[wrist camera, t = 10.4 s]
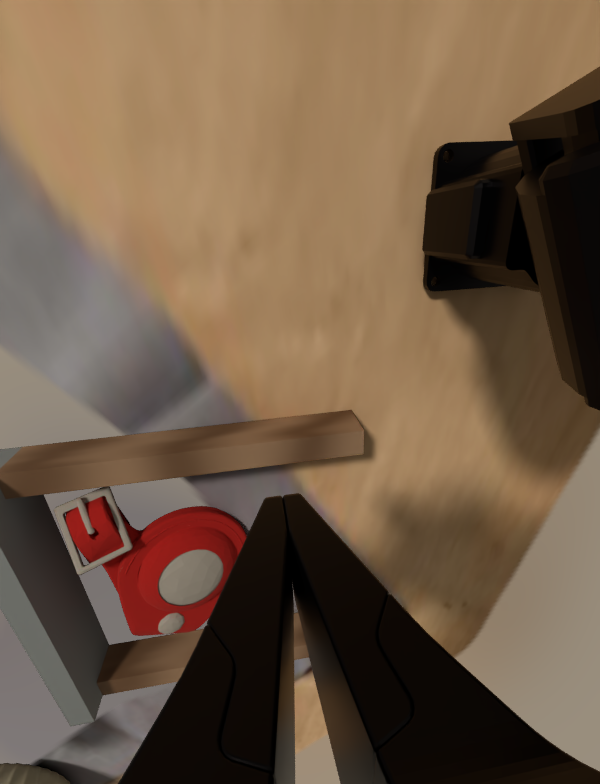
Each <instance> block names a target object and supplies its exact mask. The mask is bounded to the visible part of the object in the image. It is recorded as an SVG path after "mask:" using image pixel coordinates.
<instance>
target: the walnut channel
mask: <svg viewBox="0 0 600 784" xmlns="http://www.w3.org/2000/svg"><path fill="white" fill-rule="evenodd" d="M363 451H364V430H363V428H362V427H361V425H360V423H359V422H358V420H357V418H356V417H355V415H354V413H353V412H352V410H348V411H339V412H330V413H321V414H312V415H303V416H294V417H285V418H277V419H268V420H259V421H250V422H241V423H232V424H223V425H214V426H205V427H196V428H187V429H178V430H169V431H161V432H152V433H143V434H134V435H125V436H117V437H108V438H98V439H89V440H80V441H71V442H63V443H53V444H45V445H36V446H27V447H22V448H21V449H20V450H19V451H18V452H17V453H16V454H15V455H14V456H13V457H12V458H11V459H10V460H8V461H7V462H6V463H5V464H4V465H3V466H2V467H1V468H0V489H1V491H2V493H3V495H4V497H5V499H11V498H19V497H27V496H35V495H43V494H50V493H59V492H67V491H74V490H83V489H90V488H99V487H106V486H114V485H122V484H130V483H138V482H146V481H154V480H162V479H169V478H177V477H186V476H194V475H202V474H210V473H218V472H226V471H233V470H241V469H249V468H257V467H265V466H273V465H281V464H289V463H297V462H305V461H313V460H321V459H329V458H337V457H345V456H353V455H361V454H363ZM203 630H204V629H200V630H194V631H191V632H187V633H177V634H171V635H165V636H160V637H153V638H148V639H142V640H136V641H130V642H124V643H118V644H112V645H109V647H108V650H107V653H106V656H105V659H104V662H103V665H102V668H101V671H100V674H99V677H98V680H97V685H98V687H99V689H100V691H101V693H102V695H107V694H112V693H117V692H123V691H129V690H134V689H139V688H145V687H150V686H156V685H161V684H166V683H172V682H177V681H178V680H179V679H180V677H181V675H182V673H183V671H184V669H185V667H186V665H187V663H188V661H189V659H190V657H191V655H192V653H193V651H194V649H195V647H196V645H197V643H198V640H199V638H200V636H201V634H202V632H203ZM307 657H309V654H308V650H307V646H306V642H305V638H304V634H303V630H302V625H301V621H300V617H299V613H294V660H296V659H302V658H307Z"/></svg>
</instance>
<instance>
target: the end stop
mask: <svg viewBox="0 0 600 784" xmlns="http://www.w3.org/2000/svg"><path fill="white" fill-rule="evenodd" d="M21 448H22V447H18V448H9V449H0V468H1V467H2V466H3V465H4V464H5V463H6V462H7V461H8V460H10V459H11V458H12V457H13V456H14V455H15V454H16V453H17V452H18V451H19V450H20V449H21ZM0 609H1V610H2V612H3V614H4V616H5V617H6V619H7V621H8V622H9V624H10V626H11V627H12V629H13V631H14V632H15V634H16V636H17V637H18V639H19V641H20V642H21V644H22V646H23V647H24V649H25V651H26V652H27V654H28V656H29V658H30V659H31V661H32V663H33V664H34V666H35V667H36V669H37V671H38V673H39V674H40V676H41V678H42V679H43V681H44V682H45V684H46V686H47V688H48V689H49V691H50V692H51V694H52V696H53V698H54V699H55V701H56V703H57V704H58V706H59V708H60V709H61V711H62V713H63V714H64V716H65V718H66V719H67V721H68V723H69V725H70V726H75V725H80V724H85V723H90V722H94V721H95V718H96V715H97V712H98V708H99V705H100V702H101V699H102V693H101V691H100V689H99V687H98V685H97V680H98V677H99V674H100V671H101V668H102V665H103V662H104V659H105V656H106V653H107V650H108V647H109V644H108V642H107V639H106V637H105V635H104V633H103V630H102V628H101V626H100V623H99V621H98V619H97V617H96V614H95V612H94V610H93V607H92V605H91V603H90V601H89V598H88V596H87V594H86V591H85V589H84V587H83V584H82V582H81V580H80V577H79V575H78V574H77V572H76V569H75V566H74V564H73V561H72V559H71V557H70V555H69V552H68V550H67V548H66V545H65V543H64V541H63V538H62V536H61V534H60V532H59V529H58V527H57V525H56V522H55V520H54V518H53V516H52V513H51V511H50V509H49V507H48V504H47V502H46V500H45V497H44V495H35V496H27V497H19V498H11V499H5V497H4V495H3V493H2V491H1V489H0Z"/></svg>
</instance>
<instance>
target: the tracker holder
mask: <svg viewBox="0 0 600 784" xmlns="http://www.w3.org/2000/svg"><path fill="white" fill-rule="evenodd" d="M54 512H55V515H56V517H57V520H58V523H59V525H60V528H61V531H62V534H63V536H64V539H65V542H66V545H67V547H68V550H69V553H70V556H71V558H72V561H73V564H74V566H75V569H76V572H77V574H79V575H82V574H84V573H85V572H88V571H90V570H92V569H94V568H96V567H98V566H99V565H102V566H103V567H104V568H105V570H106V571H107V573H108V575H109V577H110V579H111V580H112V582H113V584H114V586H115V588H116V590H117V592H118V594H119V597H120V601H121V604H122V608H123V612H124V614H125V617H126V620H127V623H128V625H129V628H130V631H131V633H132V634H133V635H138V636H143V635H158V634H170V633H171V634H172V633H187V632H191V631H194V630H196V629H197V628H199V627H200V626H201V625H202V624H203V623H204V622H205V621H206V620H207V619H208V618H209V617H210V615H211V613H212V611H213V609H214V606H215V604H216V602H217V600H218V598H219V596H220V594H221V591H222V589H223V587H224V585H225V583H226V581H227V578H228V576H229V574H230V572H231V570H232V568H233V566H234V563H235V561H236V559H237V557H238V555H239V553H240V551H241V548H242V546H243V544H244V542H245V540H246V538H247V536H246V533H245V531H244V529H243V528H242V526H241V525H240V524H239V523H238V521H236V520H235V519H234V518H233V517H232V516H230V515H229V514H227V513H226V512H224V511H221V510H219V509H217V508H212V507H207V506H197V507H188V508H183V509H179V510H176V511H173V512H171V513H168V514H166V515H164V516H162V517H160V518H158V519H157V520H155V521H153V522H152V523H151V524H149V525H148V526H147V527H146V528H145V529H143V530H140V531H139V530H136V529H134V528H133V527H131V526H130V523H129V521H128V520H127V518H126V517H125V515H124V514H123V513H122V511H121V510H120V509H119V507H118V506H117V504H116V502H115V499H114V496H113V494H112V492H111V489H110V487H109V486H106V487H102V488H100V489H98V490H96V491H93V492H91V493H88V494H86V495H84V496H81V497H79V498H76V499H74V500H72V501H69V502H67V503H65V504H62V505H60V506H58V507H56V508H55V509H54ZM65 513H66V516H65ZM77 547H78V548H79V550H80V551H81V553H82V554H83V555H84V557H85V558H86V559H87V561H88V562H89V563H90V564H88V565H83V562H82V560H81V557H80V554H79V551H78V549H77Z"/></svg>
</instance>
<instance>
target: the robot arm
mask: <svg viewBox="0 0 600 784" xmlns="http://www.w3.org/2000/svg"><path fill="white" fill-rule="evenodd" d="M509 125H510V130H511V134H512V139H513V141H486V142H454V143H447V144H444V145H442V146H440V147H439V148H438V149H437V151H436V152H435V155H434V161H433V173H432V184H431V192H430V193H429V194H428V195H427V200H426V212H425V224H424V236H423V248H422V249H423V251H424V253H425V265H424V277H423V285H424V287H425V288H426V289H427V290H430V291H447V290H460V289H473V288H485V287H498V286H511V287H516V288H521V289H526V290H531V291H536V292H540V293H541V297H542V301H543V306H544V310H545V314H546V318H547V322H548V327H549V331H550V335H551V339H552V343H553V348H554V352H555V356H556V360H557V364H558V367H559V371H560V374H561V377H562V380H564V381H565V382H566V383H567V384H568V385H569V386H570V387H572V388H573V389H574V390H575V391H576V392H577V393H578V394H580V395H582V396H584V399H585V403H586V404H587V405H588V406H590V407H592V408H595V409H597V410H600V67H598V68H597V69H595V70H594V71H592V72H590V73H589V74H587V75H586V76H584V77H582V78H581V79H579V80H578V81H576V82H574V83H573V84H571V85H569V86H568V87H566V88H565V89H563V90H561V91H560V92H558V93H557V94H555V95H553V96H552V97H550V98H549V99H547V100H545V101H544V102H542V103H540V104H539V105H537V106H536V107H534V108H532V109H531V110H529V111H528V112H526V113H524V114H523V115H521V116H520V117H518V118H516V119H515V120H513V121H512V122H510V123H509ZM445 151H447V152H448V153H449V160H448V162H445V161H444V159H443V155H444V152H445ZM434 277H436V278H437V281H436V283H435V284H434V285H431V280H432V279H433V278H434ZM292 584H293V586H292ZM293 590H294V596H295V601H296V605H297V609H298V613H299V617H300V621H301V625H302V630H303V634H304V638H305V642H306V646H307V650H308V654H309V658H310V662H311V666H312V670H313V674H314V678H315V682H316V686H317V690H318V694H319V698H320V702H321V706H322V710H323V714H324V718H325V722H326V726H327V731H328V735H329V739H330V743H331V747H332V751H333V755H334V759H335V763H336V767H337V771H338V775H339V779H340V783H341V784H600V772H599V771H598V770H596V769H594V768H591V767H589V766H588V765H586V764H584V763H582V762H580V761H578V760H577V759H575V758H573V757H572V756H570V755H568V754H567V753H565V752H564V751H562V750H561V749H559V748H558V747H556V746H555V745H553V744H552V743H551V742H549V741H548V740H546V739H545V738H544V737H543V736H541V735H540V734H539V733H538V732H536V731H535V730H534V729H533V728H531V727H530V726H529V725H528V724H527V723H526V722H525V721H523V720H522V719H521V718H520V717H519V716H518V715H516V713H514V712H513V711H512V710H511V709H510V708H509V707H508V706H507V705H506V704H504V703H503V702H502V701H501V700H500V699H499V698H498V697H497V696H496V695H494V694H493V693H492V692H491V691H490V690H489V689H488V688H487V687H485V685H483V684H482V683H481V682H480V681H479V680H478V679H477V678H476V677H475V676H473V675H472V674H471V673H470V672H469V671H468V670H467V669H466V668H465V667H463V666H462V665H461V664H460V663H459V662H458V661H457V660H456V659H455V658H454V657H452V656H451V655H450V654H449V653H448V652H447V651H446V650H445V649H444V648H443V647H442V646H441V645H440V644H439V643H438V642H436V641H435V640H434V639H433V638H432V637H431V636H430V635H429V634H428V633H427V632H426V631H425V630H424V629H423V628H422V627H421V626H420V625H419V624H418V623H417V622H416V621H415V620H414V619H413V618H412V616H411V615H410V614H409V613H408V612H407V611H406V610H405V609H404V608H403V607H402V606H401V605H400V604H399V602H398V601H397V600H396V599H395V598H394V597H393V596H392V595H391V594H389V592H388V590H387V589H386V588H385V587H384V586H383V585H382V584H381V583H380V582H379V580H378V579H377V578H376V577H375V576H374V575H373V574H372V573H371V572H370V570H369V569H368V568H367V567H366V566H365V565H364V564H363V563H362V562H361V561H360V559H359V558H358V557H357V556H356V555H355V554H354V553H353V552H352V551H351V549H350V548H349V547H348V546H347V545H346V544H345V543H344V542H343V541H342V539H341V538H340V537H339V536H338V535H337V534H336V533H335V532H334V531H333V529H332V528H331V527H330V526H329V525H328V524H327V523H326V522H325V521H324V520H323V518H322V517H321V516H320V515H319V514H318V513H317V512H316V511H315V510H314V508H313V507H312V506H311V505H310V504H309V503H308V502H307V501H306V500H305V498H304V497H303V496H302V495H301V494H299V493H296V494H289V495H284V496H283V498H282V497H281V496H274V497H267V498H265V499H264V501H263V503H262V505H261V507H260V510H259V512H258V514H257V516H256V518H255V520H254V523H253V525H252V527H251V529H250V531H249V533H248V535H247V538H246V540H245V542H244V544H243V546H242V548H241V551H240V553H239V555H238V557H237V559H236V561H235V563H234V566H233V568H232V570H231V572H230V574H229V576H228V578H227V581H226V583H225V585H224V587H223V589H222V591H221V594H220V596H219V598H218V600H217V602H216V604H215V606H214V609H213V611H212V613H211V615H210V617H209V619H208V621H207V626H205V628H204V630H203V632H202V634H201V636H200V638H199V640H198V643H197V645H196V647H195V649H194V651H193V653H192V655H191V657H190V659H189V661H188V663H187V665H186V667H185V669H184V671H183V673H182V675H181V677H180V679H179V680H178V682H177V684H176V686H175V687H174V689H173V691H172V693H171V695H170V696H169V698H168V700H167V702H166V703H165V705H164V707H163V709H162V710H161V712H160V714H159V716H158V717H157V719H156V721H155V722H154V724H153V726H152V727H151V729H150V731H149V732H148V734H147V736H146V738H145V739H144V741H143V743H142V744H141V746H140V748H139V749H138V751H137V753H136V754H135V756H134V758H133V759H132V761H131V763H130V765H129V766H128V768H127V770H126V771H125V773H124V775H123V776H122V778H121V780H120V781H119V783H118V784H295V710H294V601H293Z"/></svg>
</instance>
